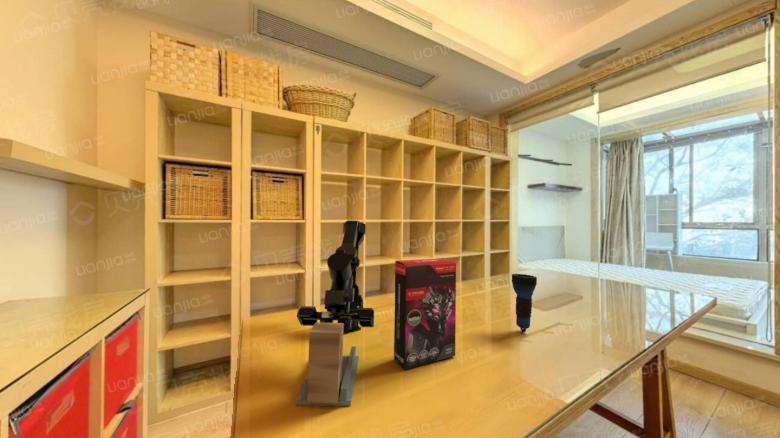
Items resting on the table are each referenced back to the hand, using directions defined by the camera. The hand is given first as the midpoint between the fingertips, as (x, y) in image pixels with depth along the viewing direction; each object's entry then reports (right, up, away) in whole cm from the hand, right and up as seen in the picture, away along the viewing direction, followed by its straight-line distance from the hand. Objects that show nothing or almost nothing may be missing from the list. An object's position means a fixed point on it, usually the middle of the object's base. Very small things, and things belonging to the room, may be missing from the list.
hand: (331, 352), depth 61 cm
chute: (0, -7, +2) cm, 7 cm away
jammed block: (0, -6, -6) cm, 8 cm away
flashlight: (+60, -9, +33) cm, 70 cm away
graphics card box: (+23, -8, +13) cm, 27 cm away
